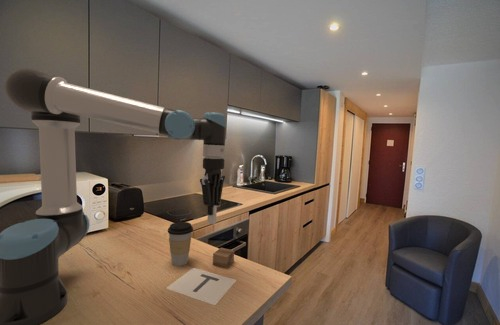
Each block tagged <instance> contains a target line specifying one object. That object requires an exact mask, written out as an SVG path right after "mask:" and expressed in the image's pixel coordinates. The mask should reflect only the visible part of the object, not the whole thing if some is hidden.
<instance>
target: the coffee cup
mask: <svg viewBox="0 0 500 325" xmlns="http://www.w3.org/2000/svg"><path fill="white" fill-rule="evenodd" d="M193 231H194V227H193V225H192V224H191V223H190V222H187V221H178V222H174V223H171V224H170V225H169V226H168V228H167V233H168V237H169V238H168V242H169V252H170V259H171V265H172V266H174V267H182V266H183V267H184V266H185V265H186V264H188V262H189V253H190V249H191V242H192V232H193Z"/></svg>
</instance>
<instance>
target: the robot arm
mask: <svg viewBox="0 0 500 325" xmlns="http://www.w3.org/2000/svg"><path fill="white" fill-rule="evenodd" d="M4 91H5V94H6V96H7V97H8V99H9V100H10V101H11V103H13V105H15V106H16V107H18V108H19V109H21V110H24V111H25V112H30V115H31V116H30V117H31V123H33V124H34V125H35V126H37V128H38V136H39V137H38V138H39V161H40V162H39V164H40V166H39V167H40V187H41V190H40V191H41V207H39V208H38V209H37V210H36V211H35V219H30V220H25V221H24V222H19V223H15V224H12V225H11V226H9V227H7V228H5V229H3V230H2V231H1V232H0V325H40V324H42V323H44V322H46V321H48V320H50V319H51V318H53V317H55V316H56V315H57V314H59V312H61V311H62V310H63V308H64V307H65V306H66V305H67V303H68V291H67V289H66V287H65V285H64V283H63V281H62V279H61V277H60V274H59V272H60V271H59V269H60V267H59V265H60V264H59V262H60V261H59V258H60V257H61V256H62V255H64V254H65V253H67V252H68V251H69V250H70V249H72V248H73V247H75V246H77V245H78V244H79V243H80V242H81V241H83V239H84V238H85V237H86V235H87V234H88V232H89V230H90V219H89V217H88V215H87V214H85V212H84V209H83V208H84V206H83V205H82V204H80V203H79V202H78V198H77V197H78V193H77V188H78V187H77V166H76V164H77V163H76V162H77V160H76V134H75V130H76V129H77V128H78V127H79V126H80V125H81V117H84V118H88V119H92V120H93V119H94V120H98V121H101V122H102V121H103V122H105V123H111V124H116V125H119V126H122V127H123V126H124V127H129V128H132V129H137V130H142V131H146V132H150V133H155V134H159V135H163V136H166V137H167V138H168V139H169V140H170V139H173V140H178V141H179V140H188V141H189V140H191V141H193V140H195V141H203V146H202V156H203V158H202V168H203V169H204V170H205V173H204V177H203V178H199V182H200V185H201V191H202V199H203V200H202V201H203V205H204V206H207V224H209V225H216V224H217V211H218V210H217V208H218V207H217V206H220V205H221V201H222V200H221V199H222V195H223V187H224V182H225V178H226V176H225V175H223V174H222V170H223V169H225V159H224V157H225V152H226V149H225V148H226V129H227V128H226V124H227V123H226V121H227V120H226V116H225V114H224V113H221V112H213V111H212V112H210V111H208V112H205V113H204V114H203V117H201V118H199V117H193V116H192V115H191V114H190V113H189V112H187V111H184V110H180V109H177V110H176V109H170V108H166V107H164V106H160V105H155V104H152V103H148V102H143V101H140V100H137V99H132V98H127V97H124V96H120V95H116V94H112V93H108V92H103V91H100V90H96V89H92V88H88V87H84V86H80V85H77V84H72V83H71V82H69V81H67V80H66V79H65V78H63V77H61V76H57V75H54V74H50V73H48V72H45V71H44V70H40V69H37V68H30V67H29V68H20V69H17V70H14V71H12V72H11V73H10V74H9V75H8V76H7V77H6V79H5V82H4Z"/></svg>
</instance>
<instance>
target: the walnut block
mask: <svg viewBox="0 0 500 325" xmlns="http://www.w3.org/2000/svg"><path fill="white" fill-rule="evenodd" d="M233 263H235V250H234V249H228V248H224V247H220V248H218V249H217V250H216V251H214V252H213V253H212V266H214V267H216V268H217V267H218V268H222V269H225V270H227V269H228V268H230V266H232V265H233Z"/></svg>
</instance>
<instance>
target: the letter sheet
mask: <svg viewBox="0 0 500 325" xmlns="http://www.w3.org/2000/svg"><path fill="white" fill-rule="evenodd" d="M236 281H237V280H236V279H234V278H230V277H227V276H224V275H220V274H217V273H213V272H209V271H206V270H203V269H200V268H196V267H192V268H191V269H189V270H188V271H187V272H185V273H184V274H182V275H181V276H180V277H179V278H178V279H176V280H175V281H174V282H172V283H171V284H170V285H168V286H167V287H165V289H166V290H170V291H172V292H175V293H178V294H181V295H184V296H186V297H189V298H192V299H195V300H198V301H200V302H204V303H206V304H209V305H212V306H216V305H217V303H218V302H219V301H220V300H221V299H222V298H223V297H224V296H225V294H226V293H227V292H228V291H229V290H230V289H231V287H232V286H233V285H234V284H235V283H236Z"/></svg>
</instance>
